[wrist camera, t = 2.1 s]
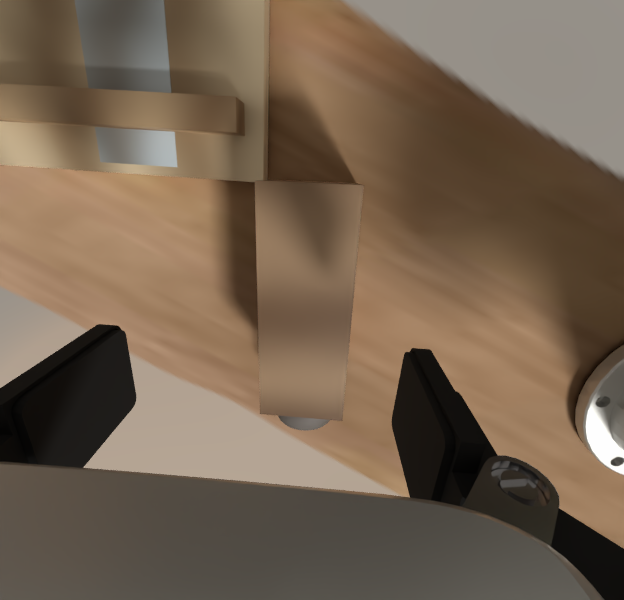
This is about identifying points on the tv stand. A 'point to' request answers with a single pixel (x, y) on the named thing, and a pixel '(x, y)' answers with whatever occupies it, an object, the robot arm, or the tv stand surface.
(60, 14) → the jig
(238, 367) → the tv stand surface
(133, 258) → the tv stand surface
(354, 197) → the brown wooden block
